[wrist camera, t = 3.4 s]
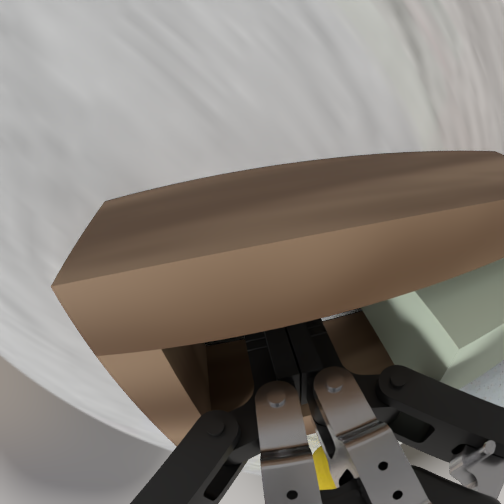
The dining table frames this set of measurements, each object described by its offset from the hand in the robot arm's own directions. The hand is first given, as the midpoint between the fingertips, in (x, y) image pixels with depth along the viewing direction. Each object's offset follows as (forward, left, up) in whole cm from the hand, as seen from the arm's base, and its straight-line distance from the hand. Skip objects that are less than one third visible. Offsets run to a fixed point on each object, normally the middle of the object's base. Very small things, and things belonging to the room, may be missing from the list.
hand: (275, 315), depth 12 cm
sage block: (0, +8, -2) cm, 9 cm away
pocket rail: (0, +4, -2) cm, 4 cm away
